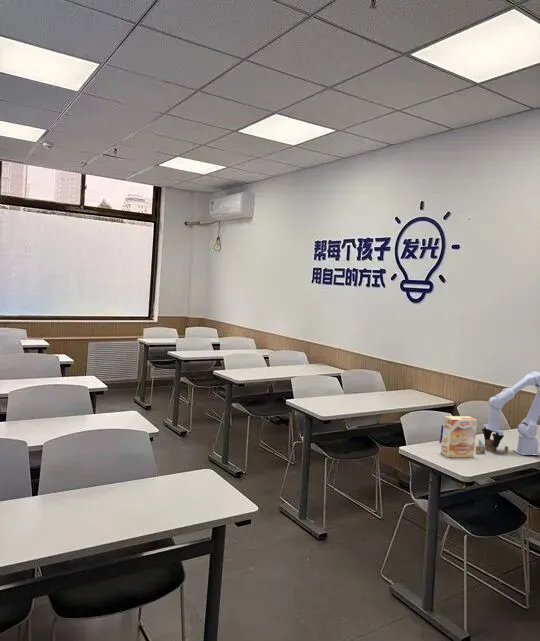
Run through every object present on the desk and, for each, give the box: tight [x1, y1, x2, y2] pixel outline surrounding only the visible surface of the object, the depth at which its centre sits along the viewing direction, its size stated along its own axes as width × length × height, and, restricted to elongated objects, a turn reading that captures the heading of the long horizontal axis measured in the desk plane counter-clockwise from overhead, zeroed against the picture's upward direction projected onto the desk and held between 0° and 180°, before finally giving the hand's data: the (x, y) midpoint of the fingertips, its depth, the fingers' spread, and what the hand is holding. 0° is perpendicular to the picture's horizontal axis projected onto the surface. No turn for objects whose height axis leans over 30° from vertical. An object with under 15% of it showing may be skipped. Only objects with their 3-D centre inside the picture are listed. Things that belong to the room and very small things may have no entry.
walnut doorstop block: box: [484, 438, 498, 452], centre depth 275 cm, size 4×4×6 cm
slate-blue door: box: [477, 438, 486, 455], centre depth 274 cm, size 13×1×4 cm, turn 167°
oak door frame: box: [474, 445, 509, 455], centre depth 269 cm, size 18×2×4 cm, turn 101°
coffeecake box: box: [440, 415, 478, 458], centre depth 262 cm, size 15×7×20 cm, turn 105°
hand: (491, 444), depth 275 cm, fingers open, 7 cm apart
